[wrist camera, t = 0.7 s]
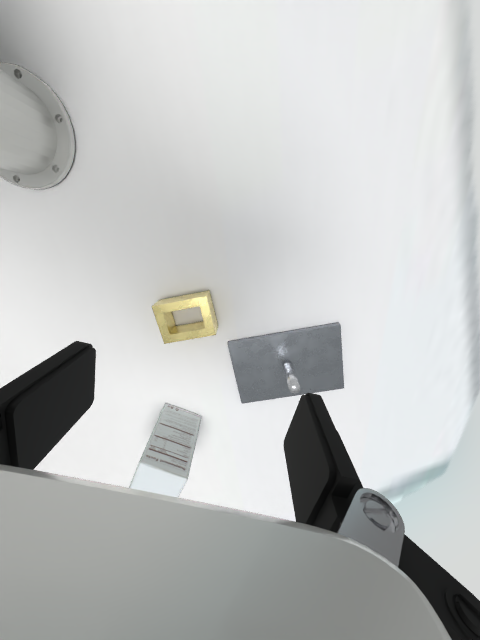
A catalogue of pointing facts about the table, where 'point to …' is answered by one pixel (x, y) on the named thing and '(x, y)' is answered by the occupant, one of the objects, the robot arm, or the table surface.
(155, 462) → the supplement box
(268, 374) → the keeper plate
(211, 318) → the hollow rectangular wooden block
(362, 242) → the table surface
